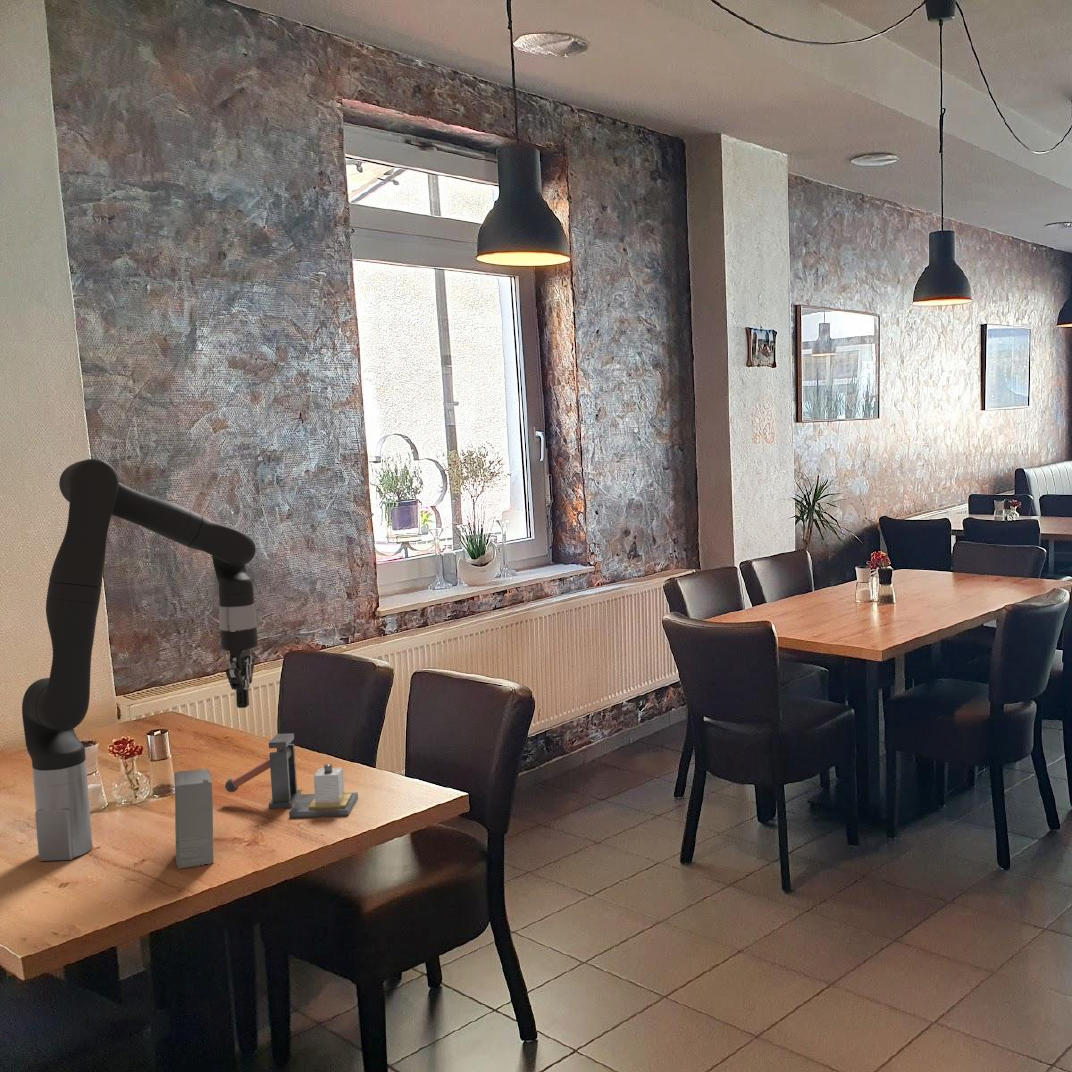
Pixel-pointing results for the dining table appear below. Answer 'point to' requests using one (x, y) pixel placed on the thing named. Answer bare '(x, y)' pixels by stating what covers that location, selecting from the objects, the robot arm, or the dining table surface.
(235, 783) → the press lever
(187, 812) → the skincare box
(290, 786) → the press bed
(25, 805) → the dining table surface
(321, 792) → the block
